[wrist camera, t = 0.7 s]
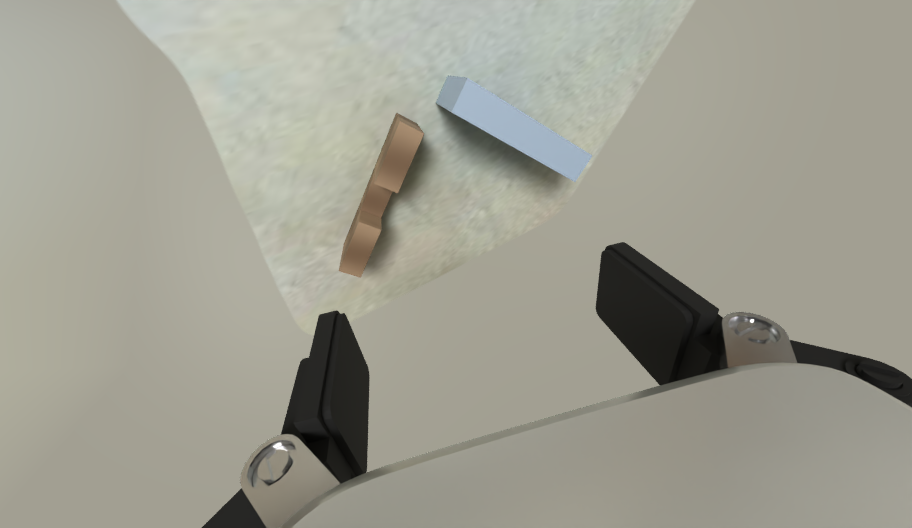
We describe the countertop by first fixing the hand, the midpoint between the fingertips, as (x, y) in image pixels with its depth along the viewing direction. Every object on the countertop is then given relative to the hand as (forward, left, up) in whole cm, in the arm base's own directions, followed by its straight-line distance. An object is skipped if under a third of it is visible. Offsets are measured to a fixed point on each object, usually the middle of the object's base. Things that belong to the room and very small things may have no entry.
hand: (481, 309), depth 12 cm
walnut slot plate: (+5, 0, -24) cm, 24 cm away
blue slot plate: (-8, +2, -24) cm, 25 cm away
